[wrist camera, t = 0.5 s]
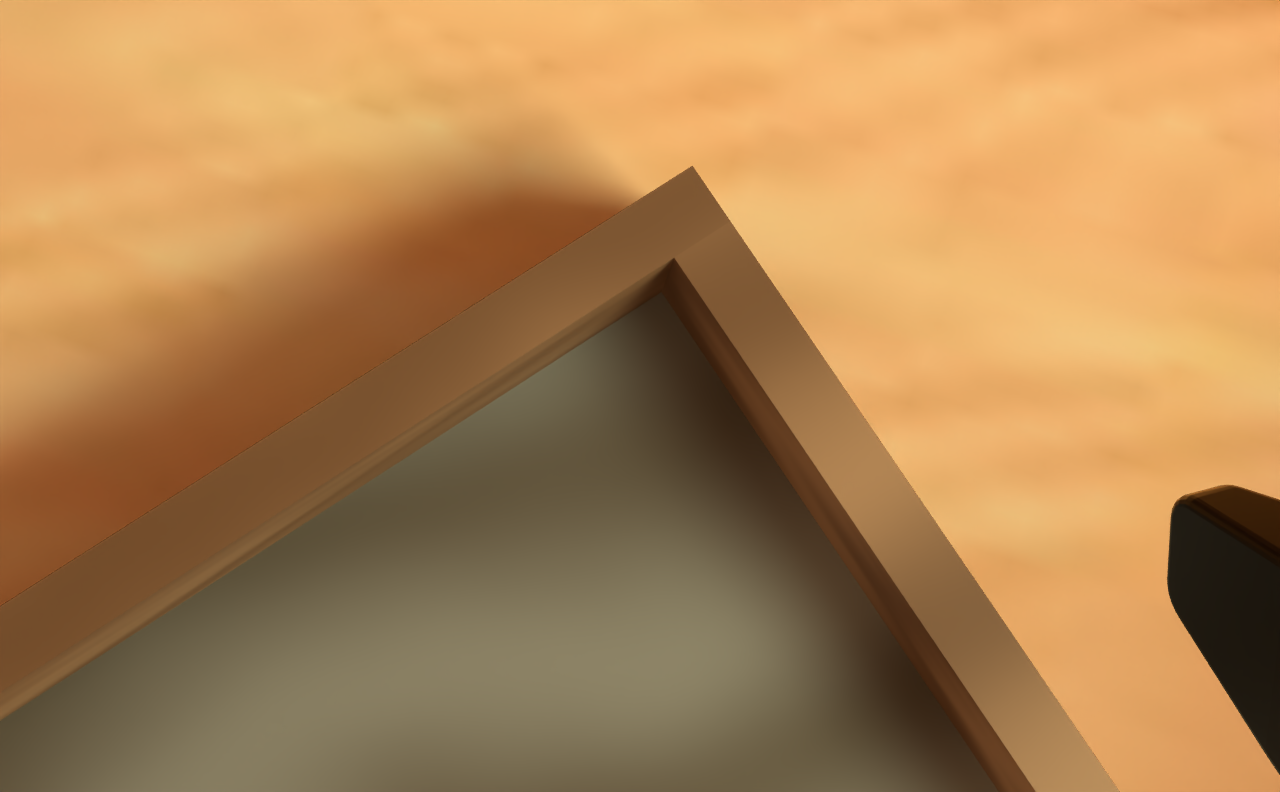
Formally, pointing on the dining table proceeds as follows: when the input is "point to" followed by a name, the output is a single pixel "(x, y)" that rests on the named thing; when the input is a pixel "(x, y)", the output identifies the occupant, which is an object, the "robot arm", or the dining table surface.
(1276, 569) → the robot arm
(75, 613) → the tray
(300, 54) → the dining table surface
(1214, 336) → the dining table surface
